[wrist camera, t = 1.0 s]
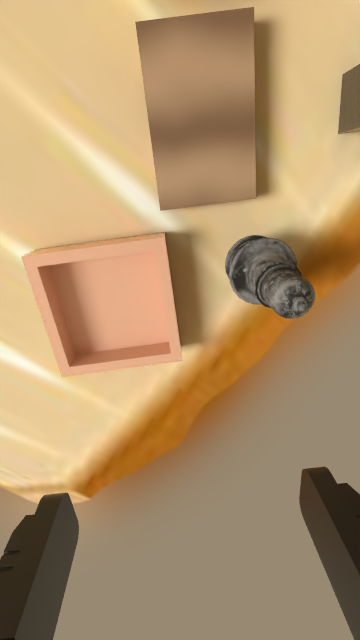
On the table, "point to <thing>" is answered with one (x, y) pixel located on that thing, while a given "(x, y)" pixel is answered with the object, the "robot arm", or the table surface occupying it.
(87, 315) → the tray
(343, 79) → the dark gray block
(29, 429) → the table surface
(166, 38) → the bronze block
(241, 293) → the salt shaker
